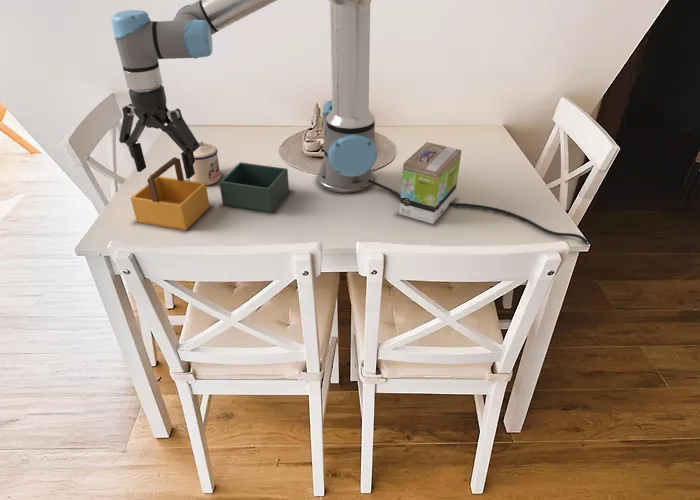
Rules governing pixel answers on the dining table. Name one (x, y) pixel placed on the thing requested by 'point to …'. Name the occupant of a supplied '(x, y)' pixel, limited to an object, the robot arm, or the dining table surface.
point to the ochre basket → (170, 199)
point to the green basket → (254, 187)
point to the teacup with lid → (206, 164)
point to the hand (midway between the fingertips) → (166, 173)
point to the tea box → (429, 182)
